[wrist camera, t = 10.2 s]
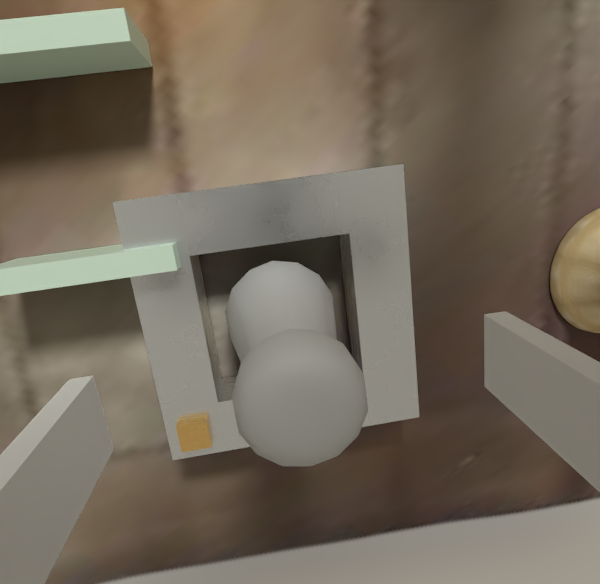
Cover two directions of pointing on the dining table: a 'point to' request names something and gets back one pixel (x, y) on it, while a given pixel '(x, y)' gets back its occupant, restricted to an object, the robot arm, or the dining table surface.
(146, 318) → the socket
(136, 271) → the pale green rectangular blocks
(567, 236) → the hand bell
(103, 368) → the dining table surface
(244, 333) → the salt shaker
